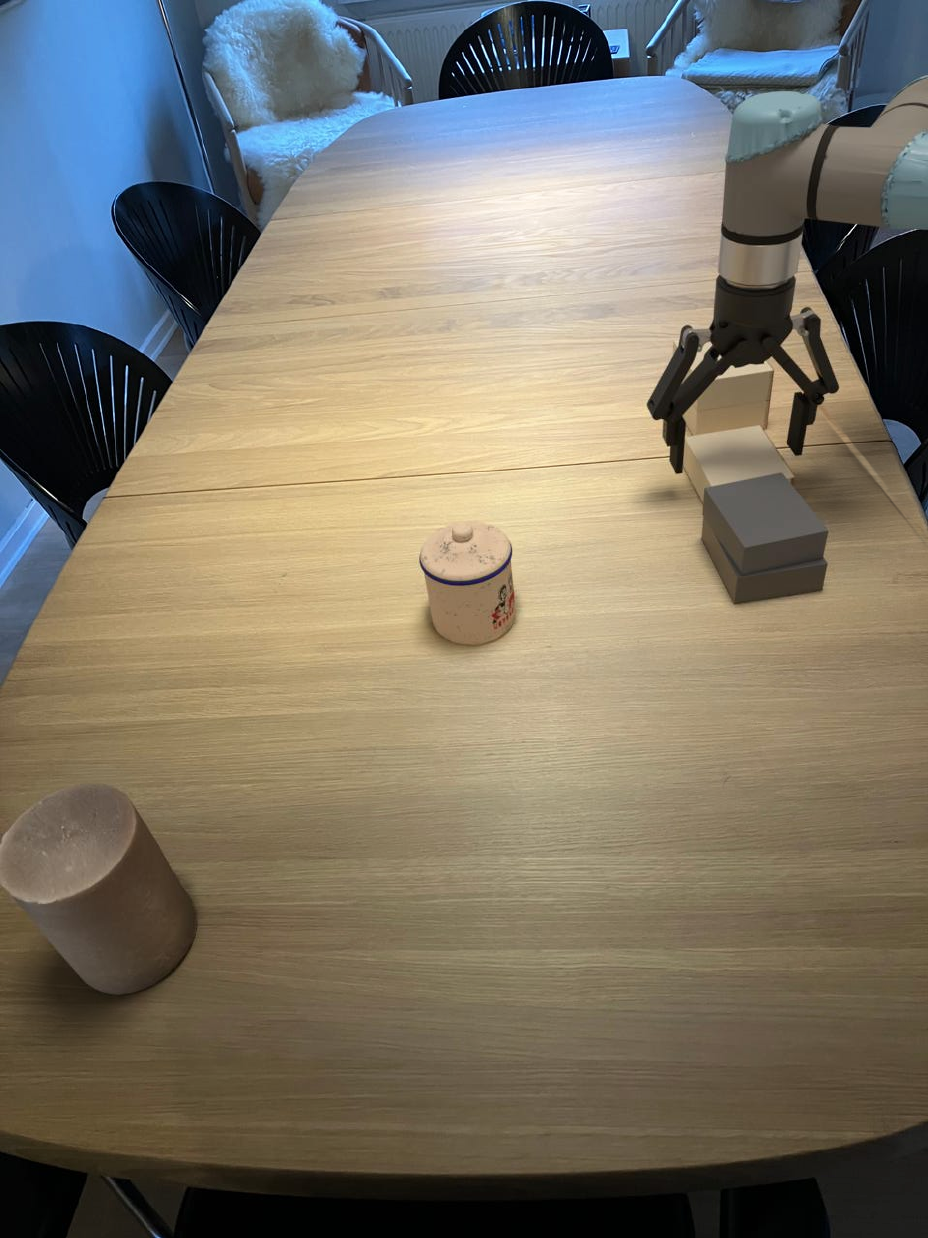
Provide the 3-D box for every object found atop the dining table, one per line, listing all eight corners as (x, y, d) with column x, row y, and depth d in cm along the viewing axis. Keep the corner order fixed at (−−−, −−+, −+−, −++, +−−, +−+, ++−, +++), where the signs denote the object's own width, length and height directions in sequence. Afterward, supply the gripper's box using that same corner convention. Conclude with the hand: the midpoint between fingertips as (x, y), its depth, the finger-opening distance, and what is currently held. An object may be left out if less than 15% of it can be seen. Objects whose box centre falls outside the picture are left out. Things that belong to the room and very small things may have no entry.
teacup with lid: (514, 649, 91) (504, 558, 83) (424, 647, 93) (406, 558, 85) (524, 570, 100) (516, 481, 92) (442, 570, 101) (427, 482, 94)
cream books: (737, 385, 123) (743, 329, 117) (767, 428, 115) (774, 369, 109) (670, 396, 123) (673, 340, 117) (694, 439, 115) (698, 381, 109)
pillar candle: (200, 871, 76) (137, 758, 66) (193, 983, 69) (121, 875, 59) (83, 895, 76) (2, 784, 66) (64, 1010, 69) (-31, 905, 59)
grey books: (781, 524, 101) (790, 470, 96) (822, 590, 92) (833, 535, 88) (698, 537, 101) (702, 484, 96) (731, 604, 92) (737, 550, 88)
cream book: (757, 453, 111) (760, 424, 108) (791, 506, 103) (796, 476, 100) (682, 465, 111) (684, 436, 108) (710, 519, 103) (713, 489, 100)
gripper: (865, 241, 93) (829, 424, 107) (621, 277, 93) (618, 456, 107) (899, 270, 87) (857, 459, 102) (640, 309, 87) (634, 493, 102)
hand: (734, 458), depth 104 cm, fingers open, 13 cm apart
